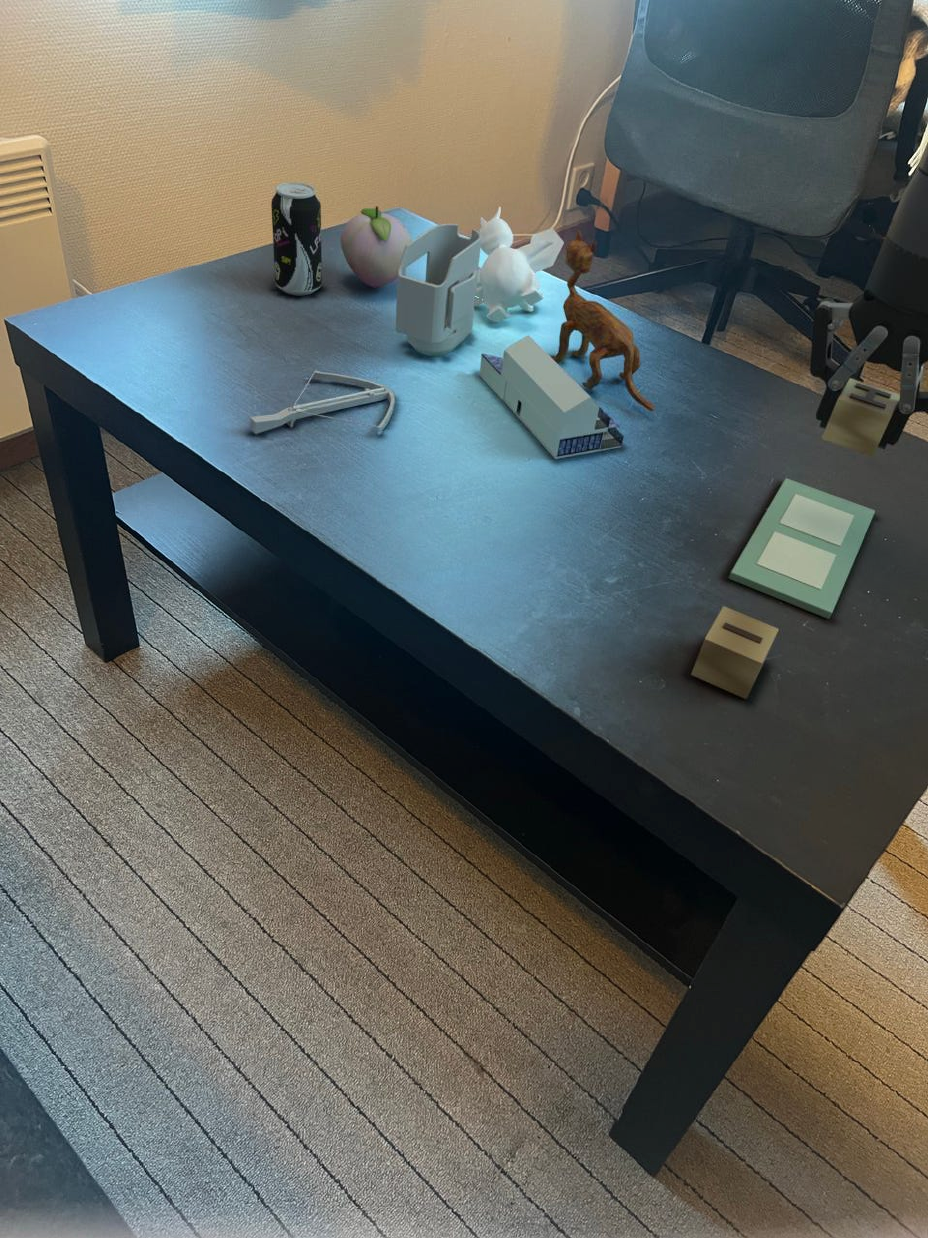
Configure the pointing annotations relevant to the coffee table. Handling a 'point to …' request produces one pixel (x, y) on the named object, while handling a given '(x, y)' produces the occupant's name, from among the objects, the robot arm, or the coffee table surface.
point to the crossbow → (328, 404)
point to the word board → (804, 547)
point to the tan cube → (734, 652)
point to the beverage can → (297, 238)
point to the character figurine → (512, 268)
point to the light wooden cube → (860, 417)
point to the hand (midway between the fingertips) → (854, 433)
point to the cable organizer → (438, 290)
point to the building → (549, 401)
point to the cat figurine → (596, 326)
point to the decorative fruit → (374, 246)
